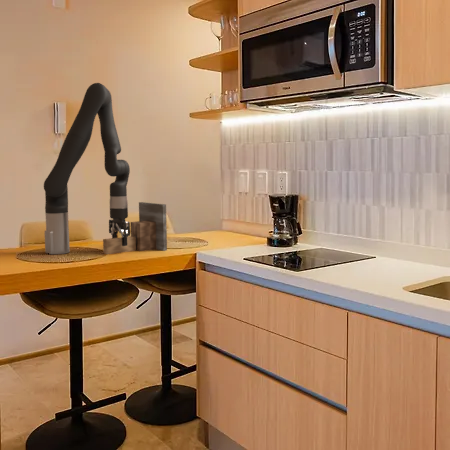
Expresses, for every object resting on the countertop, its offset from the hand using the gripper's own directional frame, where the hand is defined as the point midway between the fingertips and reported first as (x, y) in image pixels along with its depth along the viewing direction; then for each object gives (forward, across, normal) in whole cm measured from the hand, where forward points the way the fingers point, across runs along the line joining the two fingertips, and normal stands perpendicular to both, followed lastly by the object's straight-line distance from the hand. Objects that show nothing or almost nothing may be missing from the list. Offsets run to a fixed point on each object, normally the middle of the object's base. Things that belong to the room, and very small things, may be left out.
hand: (119, 244), depth 231 cm
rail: (+3, 0, +2) cm, 4 cm away
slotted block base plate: (+3, 0, +12) cm, 12 cm away
